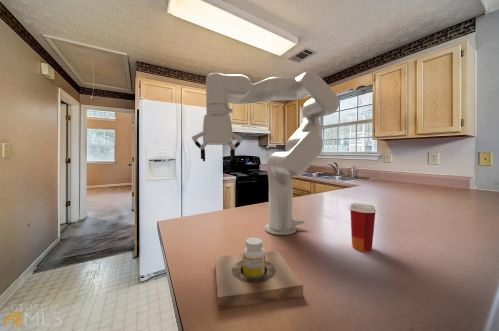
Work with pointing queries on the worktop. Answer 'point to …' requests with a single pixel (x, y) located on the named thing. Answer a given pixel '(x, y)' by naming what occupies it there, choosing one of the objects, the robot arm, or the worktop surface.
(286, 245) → the worktop surface
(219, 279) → the seat board
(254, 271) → the supplement bottle
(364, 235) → the paper cup
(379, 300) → the worktop surface
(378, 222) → the worktop surface
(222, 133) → the robot arm
